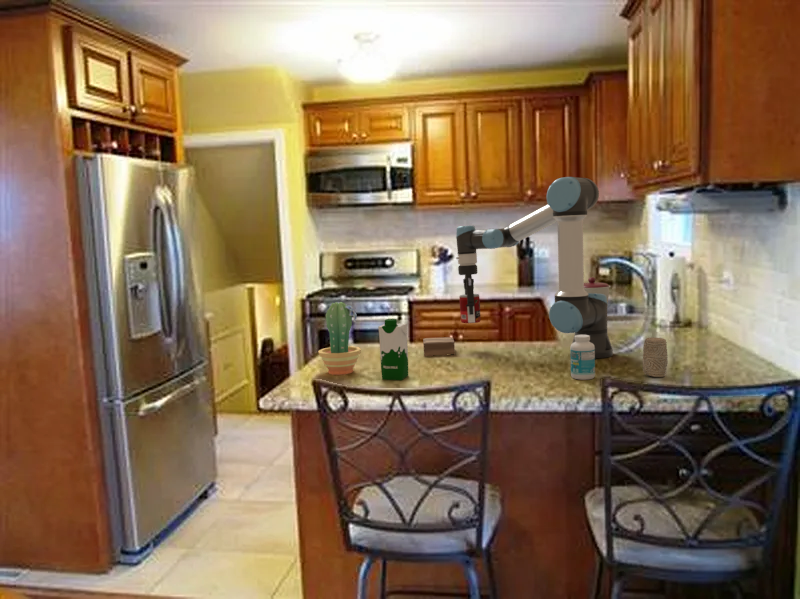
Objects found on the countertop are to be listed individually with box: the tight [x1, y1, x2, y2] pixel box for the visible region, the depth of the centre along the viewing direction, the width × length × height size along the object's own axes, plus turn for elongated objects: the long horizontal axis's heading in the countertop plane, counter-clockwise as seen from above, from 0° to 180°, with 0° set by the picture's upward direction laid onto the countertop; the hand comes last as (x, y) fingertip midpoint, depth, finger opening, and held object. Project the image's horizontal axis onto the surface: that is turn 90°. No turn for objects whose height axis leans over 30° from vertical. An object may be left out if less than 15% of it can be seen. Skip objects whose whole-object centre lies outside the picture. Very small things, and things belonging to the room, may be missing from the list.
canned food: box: [459, 293, 482, 324], centre depth 266 cm, size 8×8×11 cm
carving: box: [642, 337, 669, 378], centre depth 207 cm, size 6×8×12 cm
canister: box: [584, 276, 611, 308], centre depth 339 cm, size 18×18×21 cm
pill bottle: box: [569, 334, 596, 381], centre depth 210 cm, size 8×7×14 cm
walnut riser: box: [422, 336, 456, 357], centre depth 264 cm, size 12×12×5 cm
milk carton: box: [377, 318, 409, 381], centre depth 222 cm, size 9×9×20 cm
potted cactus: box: [318, 301, 362, 376], centre depth 236 cm, size 15×16×25 cm
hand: (470, 321), depth 267 cm, fingers closed on canned food, 8 cm apart
